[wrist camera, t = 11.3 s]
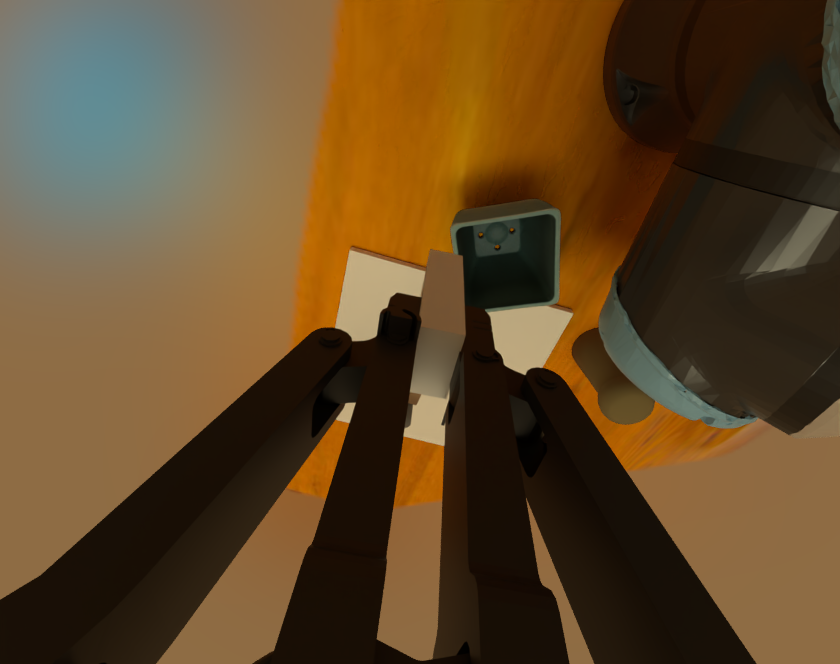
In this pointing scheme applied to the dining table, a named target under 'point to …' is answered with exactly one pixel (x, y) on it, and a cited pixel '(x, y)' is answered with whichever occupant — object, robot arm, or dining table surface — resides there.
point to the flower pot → (509, 254)
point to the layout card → (383, 277)
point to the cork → (610, 381)
